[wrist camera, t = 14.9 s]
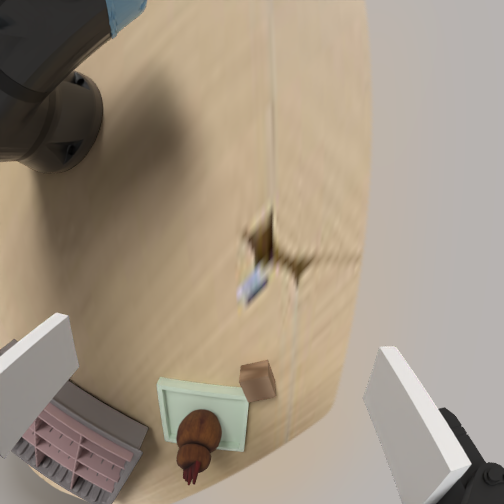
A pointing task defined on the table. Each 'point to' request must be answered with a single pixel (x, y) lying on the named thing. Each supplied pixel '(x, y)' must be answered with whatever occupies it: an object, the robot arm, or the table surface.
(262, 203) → the table surface
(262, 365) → the walnut cube
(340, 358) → the table surface
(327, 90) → the table surface
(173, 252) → the table surface
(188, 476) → the wooden figurine
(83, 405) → the organizer tray
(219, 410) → the green tray
